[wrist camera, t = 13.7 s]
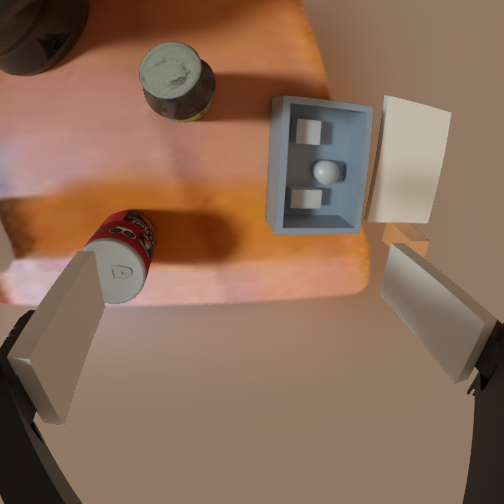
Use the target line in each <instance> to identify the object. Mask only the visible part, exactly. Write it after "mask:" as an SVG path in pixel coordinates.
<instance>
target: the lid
mask: <svg viewBox="0 0 504 504" xmlns="http://www.w3.org/2000/svg"><path fill="white" fill-rule="evenodd" d="M450 119H451V113H450V112H447V111H444V110H440V109H437V108H434V107H430V106H427V105H423V104H419V103H416V102H412V101H408V100H404V99H400V98H396V97H392V96H387V95H384V103H383V111H382V119H381V126H380V133H379V141H378V147H377V153H376V159H375V165H374V171H373V177H372V182H371V187H370V192H369V198H368V202H367V207H366V213H365V217H364V220H366V222H386V226H385V231H384V234H383V238H382V240H383V241H384V242H385V243H386V244H387V245H388V246H389V247H390V248H391V243H404V244H406V245H407V246H408V247H410V248H411V249H412V250H414V251H415V252H416V253H418V254H419V255H420V256H422V257H423V258H424V257H425V254H426V251H427V248H428V245H429V242H430V241H429V240H428V239H427V238H425V236H423V235H422V234H421V233H420V232H419V231H418V230H417V229H415V228H414V227H413V226H412V225H411V224H410V223H428V221H429V217H430V214H431V210H432V206H433V202H434V198H435V195H436V190H437V186H438V182H439V178H440V173H441V169H442V164H443V159H444V154H445V149H446V144H447V138H448V132H449V126H450Z"/></svg>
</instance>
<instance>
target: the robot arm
mask: <svg viewBox="0 0 504 504" xmlns="http://www.w3.org/2000/svg"><path fill="white" fill-rule="evenodd" d="M88 6H89V5H88V0H0V70H2V71H3V72H5V73H8V74H11V75H17V76H32V75H36V74H39V73H41V72H44V71H46V70H48V69H49V68H51V67H52V66H54V65H55V64H57V63H58V62H59V61H60V60H61V59H63V58H64V57H65V56H66V55H67V54H68V52H69V51H70V50H71V49H72V48H73V46H74V45H75V43H76V42H77V40H78V39H79V37H80V35H81V33H82V31H83V29H84V27H85V24H86V21H87V16H88ZM380 295H381V296H382V297H383V298H384V299H385V301H386V302H387V303H388V304H389V305H390V306H391V307H392V309H393V310H394V311H395V312H396V313H397V315H398V316H399V317H400V318H401V319H402V320H403V321H404V323H406V325H407V326H408V327H409V329H410V330H411V331H412V332H413V333H414V334H415V336H416V337H417V338H418V339H419V340H420V342H421V343H422V344H423V345H424V346H425V347H426V349H427V350H428V351H429V352H430V354H431V355H432V356H433V357H434V359H435V360H436V361H437V362H438V364H439V365H440V366H441V367H442V369H443V370H444V371H445V372H446V374H447V375H448V376H449V377H450V379H451V380H452V381H453V382H454V384H456V383H458V382H461V381H463V380H466V379H468V378H469V376H470V374H471V372H472V370H473V369H474V367H476V368H477V370H478V371H479V372H478V374H477V376H476V377H475V379H474V381H473V383H472V384H471V386H470V388H469V389H468V392H467V394H470V392H471V391H472V389H475V391H474V393H473V396H475V408H474V426H473V438H472V447H471V457H470V464H469V471H468V477H467V484H466V489H465V494H464V499H463V504H504V323H503V324H502V323H501V322H499V321H498V320H497V319H496V318H495V317H494V316H493V315H492V314H490V313H489V312H488V311H487V310H486V309H485V308H484V307H483V306H481V305H480V304H479V303H478V302H477V301H476V300H475V299H473V298H472V297H471V296H470V295H469V294H468V293H466V292H465V291H464V290H463V289H461V288H460V287H459V286H458V285H457V284H455V283H454V282H453V281H452V280H450V279H449V278H448V277H447V276H446V275H444V274H443V273H442V272H441V271H439V270H438V269H437V268H436V267H434V266H433V265H432V264H431V263H429V262H428V261H427V260H425V259H424V258H423V257H422V256H420V255H419V254H418V253H416V252H415V251H414V250H412V249H411V248H410V247H408V246H407V245H406V244H404V243H391V248H390V252H389V257H388V262H387V266H386V270H385V275H384V279H383V283H382V287H381V291H380ZM104 309H105V304H104V299H103V295H102V290H101V285H100V280H99V274H98V269H97V263H96V257H95V251H78V252H77V253H76V255H75V256H74V257H73V259H72V260H71V261H70V262H69V264H68V265H67V266H66V268H65V269H64V271H63V272H62V273H61V275H60V276H59V277H58V279H57V280H56V281H55V283H54V284H53V286H52V287H51V289H50V290H49V291H48V293H47V294H46V296H45V297H44V299H43V300H42V302H41V303H40V305H39V306H38V308H37V309H36V310H29V311H28V312H27V313H25V314H24V315H23V316H22V317H21V318H19V320H18V322H17V323H16V325H15V326H14V329H12V330H11V332H10V333H9V337H7V338H6V340H5V341H4V343H3V345H2V346H1V348H0V495H1V498H2V500H3V502H4V504H82V503H81V501H80V500H79V498H78V497H77V495H76V494H75V492H74V491H73V489H72V488H71V486H70V485H69V483H68V481H67V480H66V478H65V476H64V475H63V473H62V472H61V470H60V468H59V467H58V465H57V463H56V461H55V460H54V458H53V456H52V454H51V452H50V451H49V449H48V447H47V445H46V443H45V441H44V439H43V438H42V435H41V433H40V431H39V429H38V427H37V426H36V424H35V423H34V421H33V419H34V416H35V413H36V411H37V413H38V414H39V416H40V417H41V419H42V420H43V422H45V423H51V424H56V425H65V421H66V418H67V414H68V411H69V407H70V404H71V401H72V398H73V395H74V391H75V388H76V385H77V382H78V379H79V376H80V373H81V370H82V367H83V364H84V362H85V359H86V356H87V353H88V350H89V348H90V345H91V342H92V340H93V337H94V334H95V332H96V329H97V326H98V324H99V321H100V319H101V316H102V314H103V311H104Z"/></svg>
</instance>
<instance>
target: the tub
mask: <svg viewBox="0 0 504 504" xmlns="http://www.w3.org/2000/svg"><path fill="white" fill-rule="evenodd" d="M373 110H374V108H373V107H369V106H364V105H358V104H352V103H345V102H339V101H331V100H324V99H315V98H306V97H297V96H285V95H283V96H278V97H274V98H272V103H271V125H270V146H269V166H268V186H267V205H266V220H267V222H268V223H269V225H270V227H271V228H272V230H273V232H274V233H275V235H300V234H359V233H360V227H361V220H362V213H363V206H364V199H365V192H366V184H367V175H368V167H369V157H370V147H371V136H372V124H373Z"/></svg>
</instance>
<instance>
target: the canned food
mask: <svg viewBox="0 0 504 504" xmlns="http://www.w3.org/2000/svg"><path fill="white" fill-rule="evenodd" d="M155 246H156V233H155V230H154V228H153V226H152V224H151V223H150V221H149V220H148V219H147V218H146V217H145V216H143V215H141V214H140V213H137V212H133V211H121V212H117V213H115V214H113V215H111V216H110V217H108V218H107V219H106V221H105V222H104V223H103V224H102V225H101V226H100V228H99V229H98V230H97V231H96V233H95V234H94V235H93V236H92V238H91V239H90V240H89V241H88V243H87V244H86V245H85V246H84V248H83V249H82V251H95V257H96V263H97V269H98V274H99V280H100V285H101V290H102V295H103V299H104V303H109V304H120V303H125V302H128V301H130V300H132V299H133V298H135V297H136V296H137V295H138V294H139V293H140V291H141V290H142V288H143V286H144V283H145V280H146V277H147V274H148V271H149V267H150V263H151V260H152V257H153V253H154V250H155Z"/></svg>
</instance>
